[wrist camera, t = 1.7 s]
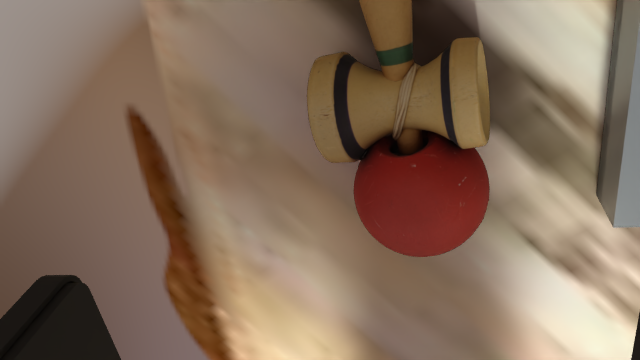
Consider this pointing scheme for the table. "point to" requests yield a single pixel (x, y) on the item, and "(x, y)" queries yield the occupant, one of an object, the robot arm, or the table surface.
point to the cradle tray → (622, 122)
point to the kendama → (407, 133)
